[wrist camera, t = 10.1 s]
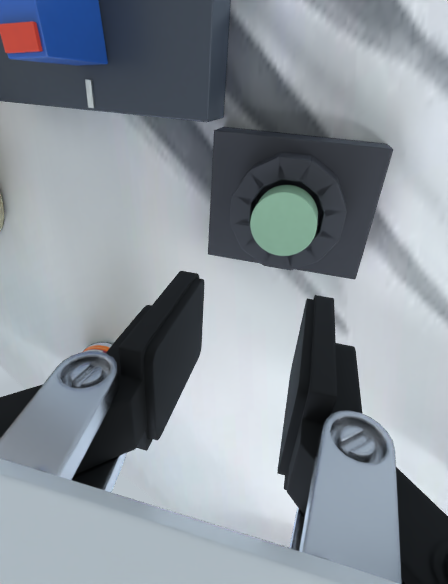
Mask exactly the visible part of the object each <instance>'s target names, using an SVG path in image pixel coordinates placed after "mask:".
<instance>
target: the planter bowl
mask: <svg viewBox="0 0 448 584" xmlns="http://www.w3.org/2000/svg"><path fill="white" fill-rule="evenodd" d="M3 222H4V207H3V201H2V197H1V194H0V231H1V229H2V226H3Z"/></svg>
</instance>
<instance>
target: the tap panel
mask: <svg viewBox="0 0 448 584" xmlns="http://www.w3.org/2000/svg"><path fill="white" fill-rule="evenodd" d="M98 1H99V8H100V14H101V21H102V27H103V34H104V40H105V47H106V53H107V60H108V64H100V65H79V66H76V65H65V64H55V63H44V62H34V61H23V60H13V59H9V58H8V54H7V53H5V49H4V45H3V42H2V38H1V34H0V101H5V102H14V103H24V104H34V105H44V106H54V107H64V108H73V109H83V110H93V111H103V112H113V113H122V114H132V115H142V116H152V117H162V118H171V119H181V120H191V121H201V122H209V121H213V120H217V119H220V118H223V117H224V100H225V84H226V68H227V52H228V35H229V19H230V3H231V0H98Z"/></svg>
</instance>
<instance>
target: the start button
mask: <svg viewBox="0 0 448 584" xmlns="http://www.w3.org/2000/svg"><path fill="white" fill-rule="evenodd" d="M317 221H318V210H317V206H316V203H315V201H314V199H313V198H312V197H311V195H310V194H309V193H308V192H307V191H305V190H304V189H302V188H300V187H297V186H294V185H280V186H276V187H274V188H272V189H270V190H268V191H267V192H266V193H265V194H264V195H263V196H262V197H261V199H260V200H259V202H258V203H257V205H256V207H255V208H254V210H253V212H252V215H251V220H250V227H251V233H252V235H253V237H254V239H255V241H256V242H257V244H258V245H259V246H260V247H261V248H262V249H264V250H265V251H267V252H269V253H271V254H274V255H278V256H289V255H293V254H296V253H299V252H301V251H302V250H304V249H305V248H306V247H307V246H308V245H309V244H310V243H311V242H312V240H313V238H314V236H315V234H316V230H317Z"/></svg>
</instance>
